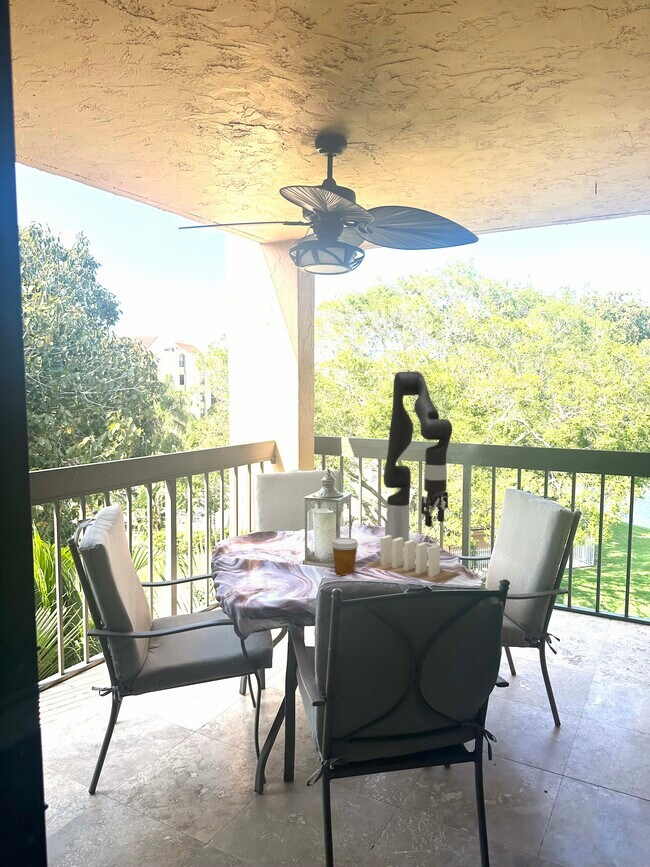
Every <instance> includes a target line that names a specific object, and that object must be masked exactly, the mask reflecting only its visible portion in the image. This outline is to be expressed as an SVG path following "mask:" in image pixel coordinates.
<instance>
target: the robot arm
mask: <svg viewBox="0 0 650 867" xmlns="http://www.w3.org/2000/svg"><path fill="white" fill-rule="evenodd" d="M392 387H393V390H392V391H393V393H392V412H391V417H390V418H391V419H390V426H389V435H388V448H387V455H386V461H385V467H384V471H383V483H384V487H386V488H388V489H399V490H398V491H397V492H395V493H394V494H391V495H389V496H388V497H387V499H386V500H387V502H386V505H387V507H386V508H387V510H386V511H387V512H386V520H385V521H384V536H387V535H390V536H392V540H394V539H396V538H399V537H400V538H403V548H404V542H406V541H409V540H410V498H411V483H412V482H411V481H412V479H411V477H412V476H411V473H412V472H411V469H410V467H409V466H408V465H396V464H397V462H398V460H399V458H401V455H402V454H403V453H404V452H405V451H406V450H407V449H408V447H409V446H411V443H412V441H413V436H414V435H413V433H414V423H413V421H412V419H411V417H410V415H409V413H408V412H407V410H406V408H405V406H404V397H405V396H406V397H407V396H409V397H410V396H417V398H416V400H415V403H414V412H415V415H416V417H417V419H418V420H419V424H420V434H421V437H422V438H423V439H425V440H428V441H438V442H437V443H436V444H435V445H432V446H429V447H426V449H425V456H424V457H425V459H424V461H425V463H424V464H425V466H424V477H423V478H424V479H423V488H424V489H423V490H424V491H425V492H426V493H427V495H426V496H422V497H421V505H420V506H421V511H420V513H421V515H423V516H424V524H425V525H424V526H426V527H430V528H431V527H432V526H433V516H432V515H433V512H434V511H435V510H436V508H437V521H438V522H441V523H443V522H445V511H446V509H448V508H449V492H448V491H447V483H448V482H447V481H448V480H447V475H448V471H447V470H448V468H447V453H448V449H449V444H450V441H451V437H452V434H453V425H452V423H451V422H450V420H449V419H447V418H440V414H439V411H438V410H437V408H436V406H435V404H434V403H433V401H432V399H431V396H430V393H429V390H428V385H427V383H426V380H425V377H424V376H423V374H422V373H421V372H420V371H398V372H396V373H395V375H394V379H393V386H392Z"/></svg>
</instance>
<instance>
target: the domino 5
mask: <svg viewBox="0 0 650 867" xmlns="http://www.w3.org/2000/svg"><path fill="white" fill-rule="evenodd" d="M440 561H441V545H440V544H434V545H431V546H429V547H428V561H427V566H428V576H430V577H433V576H435V575H437V574H439V573H440V569H441V565H440V564H441V562H440Z"/></svg>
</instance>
